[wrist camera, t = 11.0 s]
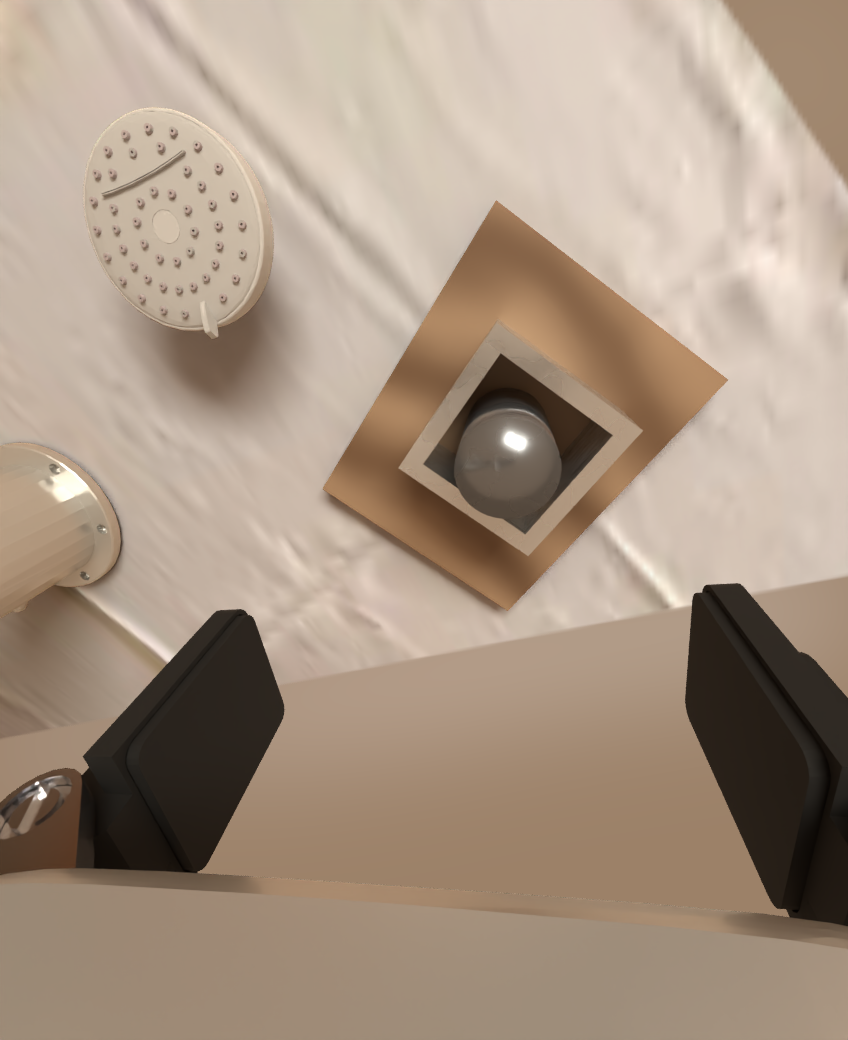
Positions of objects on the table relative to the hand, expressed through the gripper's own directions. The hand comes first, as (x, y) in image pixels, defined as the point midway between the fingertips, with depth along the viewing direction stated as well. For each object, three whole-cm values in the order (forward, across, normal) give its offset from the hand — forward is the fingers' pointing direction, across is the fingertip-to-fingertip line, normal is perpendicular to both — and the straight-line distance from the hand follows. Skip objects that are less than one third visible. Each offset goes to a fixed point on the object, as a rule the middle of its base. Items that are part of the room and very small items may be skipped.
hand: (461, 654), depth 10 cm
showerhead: (+24, +14, -12) cm, 30 cm away
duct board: (+23, -1, +1) cm, 23 cm away
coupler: (+22, -1, +1) cm, 22 cm away
